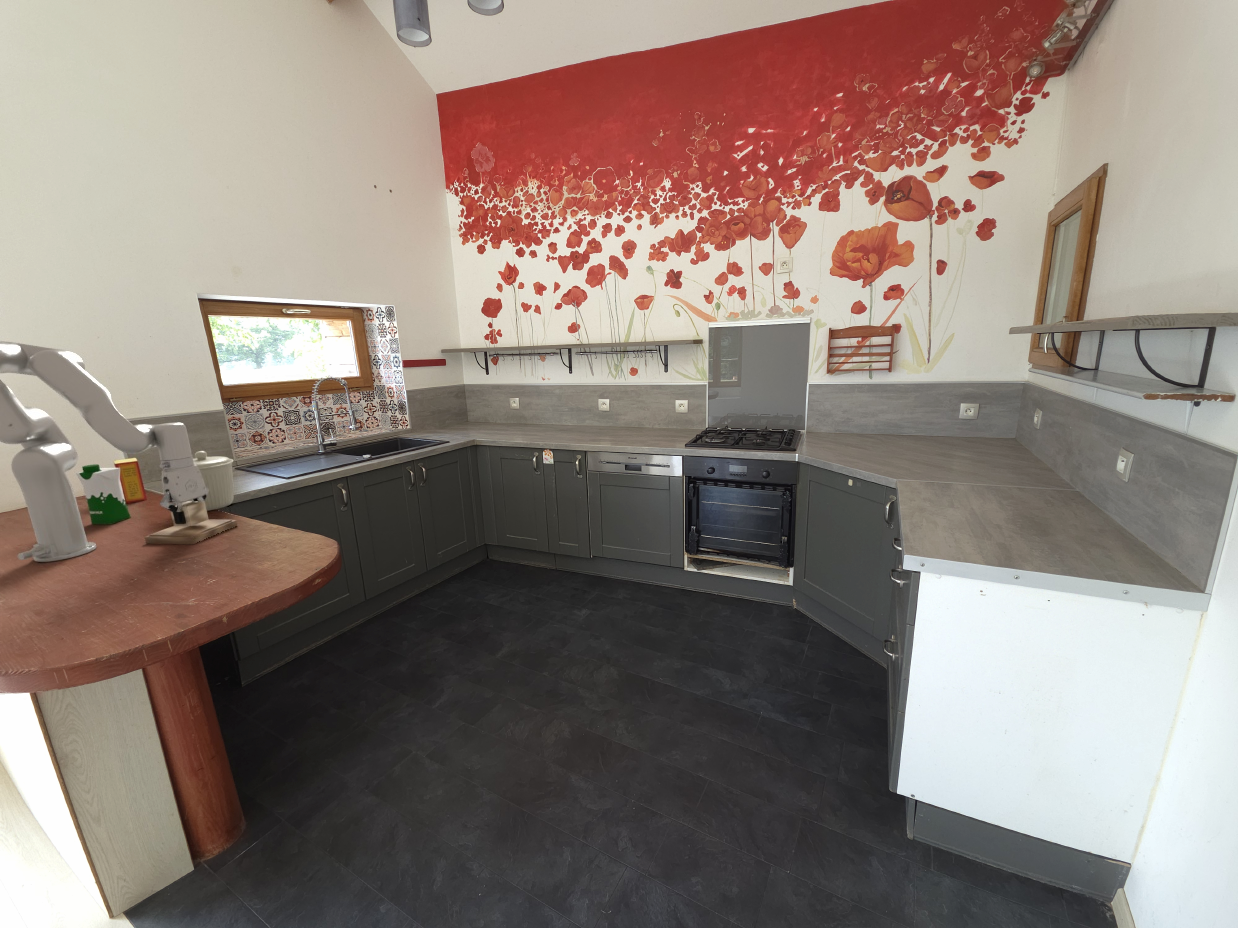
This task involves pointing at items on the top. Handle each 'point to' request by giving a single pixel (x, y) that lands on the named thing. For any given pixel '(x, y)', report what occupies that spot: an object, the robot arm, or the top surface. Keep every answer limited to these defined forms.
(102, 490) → the milk carton
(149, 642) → the top surface
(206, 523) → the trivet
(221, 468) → the canister
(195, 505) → the cube
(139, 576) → the top surface
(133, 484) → the baking soda box
